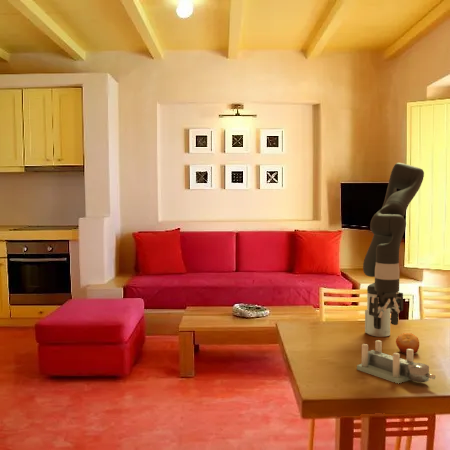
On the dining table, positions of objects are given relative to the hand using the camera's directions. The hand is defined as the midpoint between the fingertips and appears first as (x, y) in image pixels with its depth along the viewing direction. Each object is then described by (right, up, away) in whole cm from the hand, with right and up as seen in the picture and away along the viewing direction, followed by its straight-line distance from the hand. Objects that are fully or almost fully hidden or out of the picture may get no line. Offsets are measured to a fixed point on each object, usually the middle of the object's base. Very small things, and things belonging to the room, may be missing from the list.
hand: (386, 326), depth 161 cm
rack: (0, -15, +1) cm, 15 cm away
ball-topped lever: (+3, -14, -3) cm, 15 cm away
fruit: (+15, -14, +22) cm, 30 cm away
